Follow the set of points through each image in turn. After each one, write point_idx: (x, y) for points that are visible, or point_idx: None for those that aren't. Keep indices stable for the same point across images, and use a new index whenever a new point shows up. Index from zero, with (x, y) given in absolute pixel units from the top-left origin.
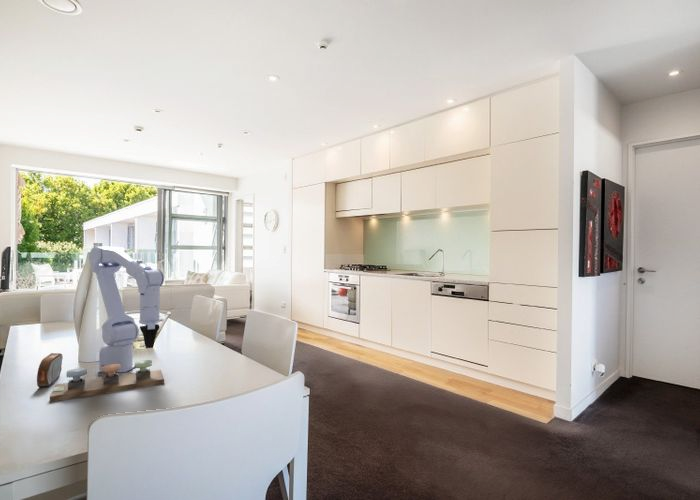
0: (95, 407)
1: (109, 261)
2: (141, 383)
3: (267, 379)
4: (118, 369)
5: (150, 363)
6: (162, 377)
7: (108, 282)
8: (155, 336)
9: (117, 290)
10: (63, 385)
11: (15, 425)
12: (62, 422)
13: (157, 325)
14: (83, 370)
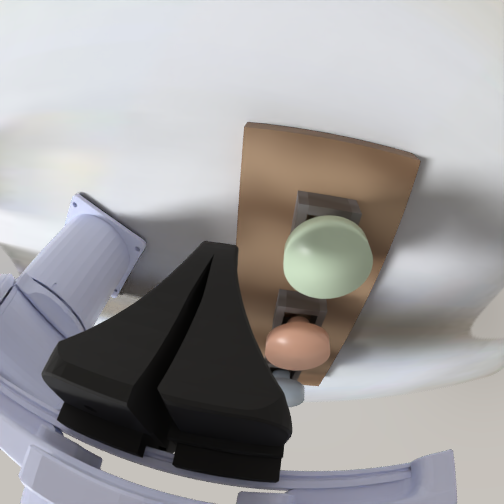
0: (430, 329)
1: None
2: (392, 239)
3: None
4: (324, 332)
5: (364, 237)
6: (392, 158)
7: None
8: (245, 315)
9: None
10: None
11: (392, 391)
12: (443, 359)
13: (131, 410)
14: (291, 393)
